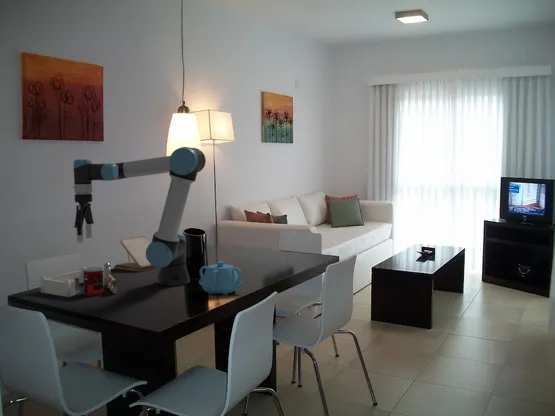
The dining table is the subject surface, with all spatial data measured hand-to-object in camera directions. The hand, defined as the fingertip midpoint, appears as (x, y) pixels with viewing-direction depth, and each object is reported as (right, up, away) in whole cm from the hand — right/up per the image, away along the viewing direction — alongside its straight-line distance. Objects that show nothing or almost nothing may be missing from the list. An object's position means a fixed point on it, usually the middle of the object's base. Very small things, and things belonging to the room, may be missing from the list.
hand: (84, 240), depth 251 cm
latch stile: (0, -22, -11) cm, 25 cm away
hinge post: (+10, -21, +2) cm, 23 cm away
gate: (+14, -22, -7) cm, 27 cm away
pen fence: (-3, -22, -4) cm, 22 cm away
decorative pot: (+63, -22, -9) cm, 67 cm away
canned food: (+8, -23, -13) cm, 27 cm away
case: (+13, -18, +47) cm, 51 cm away
